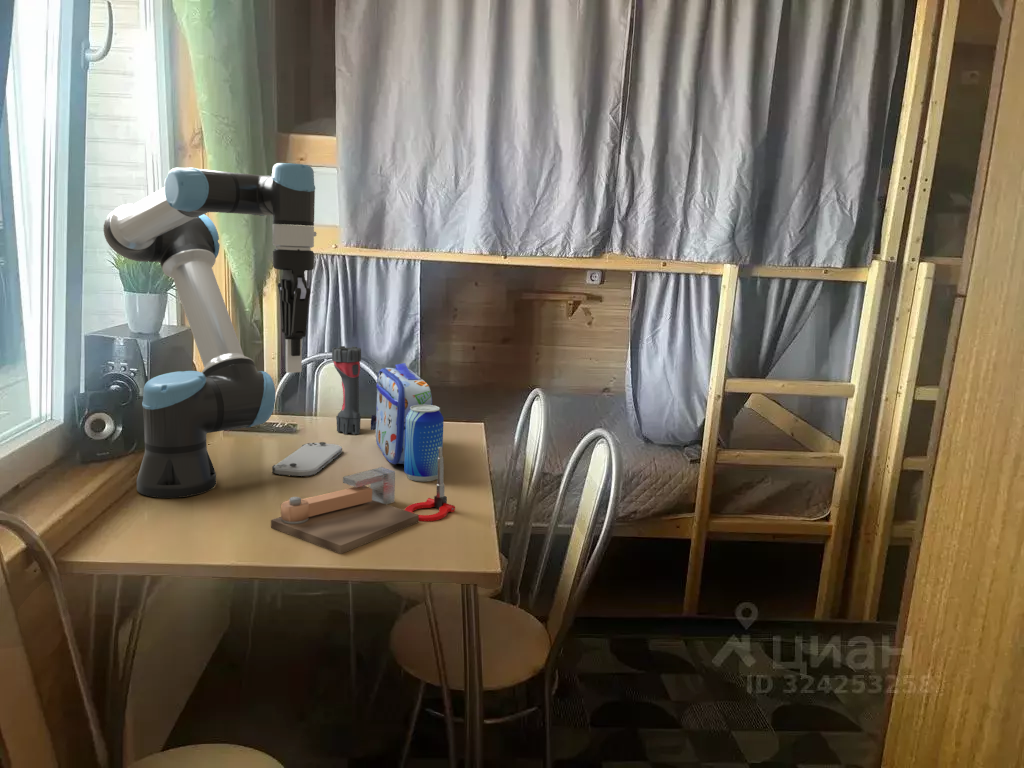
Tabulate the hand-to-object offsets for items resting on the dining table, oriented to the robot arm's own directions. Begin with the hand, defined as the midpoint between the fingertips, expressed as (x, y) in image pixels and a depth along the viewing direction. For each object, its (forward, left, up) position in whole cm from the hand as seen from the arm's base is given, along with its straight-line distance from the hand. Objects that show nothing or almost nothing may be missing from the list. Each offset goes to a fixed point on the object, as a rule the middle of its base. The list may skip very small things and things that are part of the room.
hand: (293, 371), depth 153 cm
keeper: (+13, +8, -26) cm, 30 cm away
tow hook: (+24, +13, -27) cm, 38 cm away
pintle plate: (+17, -2, -26) cm, 31 cm away
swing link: (+12, -2, -24) cm, 27 cm away
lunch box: (-7, +39, -27) cm, 48 cm away
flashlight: (-33, +46, -27) cm, 63 cm away
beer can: (+8, +30, -27) cm, 41 cm away
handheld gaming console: (-18, +20, -27) cm, 38 cm away
